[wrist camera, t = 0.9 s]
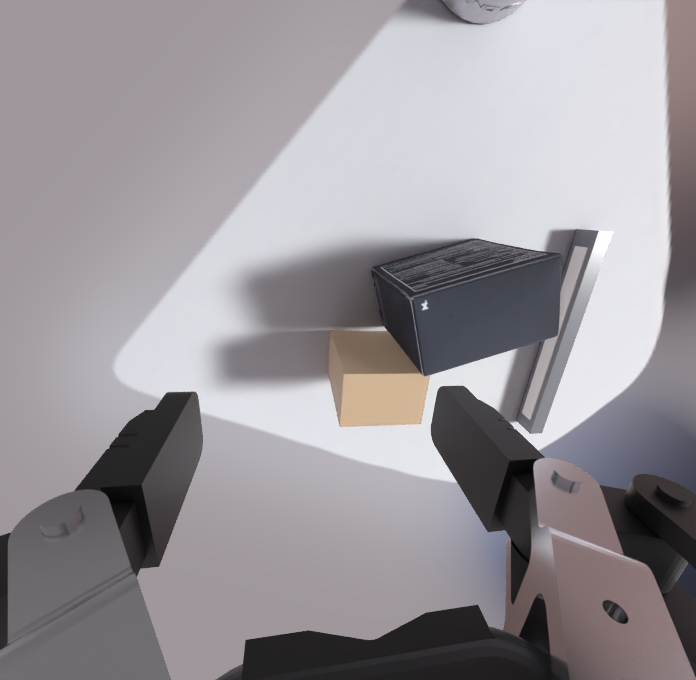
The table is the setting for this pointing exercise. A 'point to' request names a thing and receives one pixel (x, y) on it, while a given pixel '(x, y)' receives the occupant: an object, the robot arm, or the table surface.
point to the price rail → (563, 326)
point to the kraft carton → (374, 380)
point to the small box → (469, 302)
